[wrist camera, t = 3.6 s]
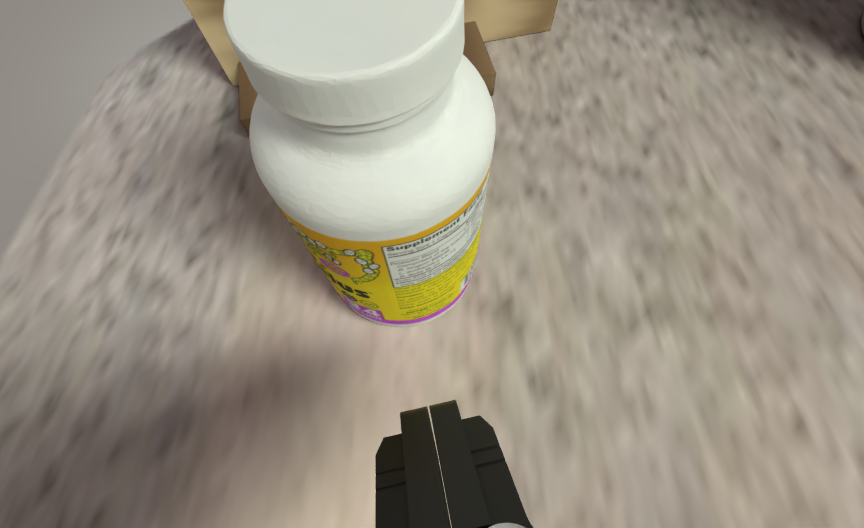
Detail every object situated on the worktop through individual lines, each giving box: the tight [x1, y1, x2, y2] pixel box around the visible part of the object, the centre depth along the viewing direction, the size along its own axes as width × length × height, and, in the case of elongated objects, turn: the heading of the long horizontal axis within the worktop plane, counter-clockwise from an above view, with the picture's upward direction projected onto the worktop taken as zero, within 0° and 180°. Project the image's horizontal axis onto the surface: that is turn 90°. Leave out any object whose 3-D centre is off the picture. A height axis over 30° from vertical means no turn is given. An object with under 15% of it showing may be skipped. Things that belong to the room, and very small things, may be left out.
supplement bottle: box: [223, 0, 496, 327], centre depth 14 cm, size 7×7×13 cm
